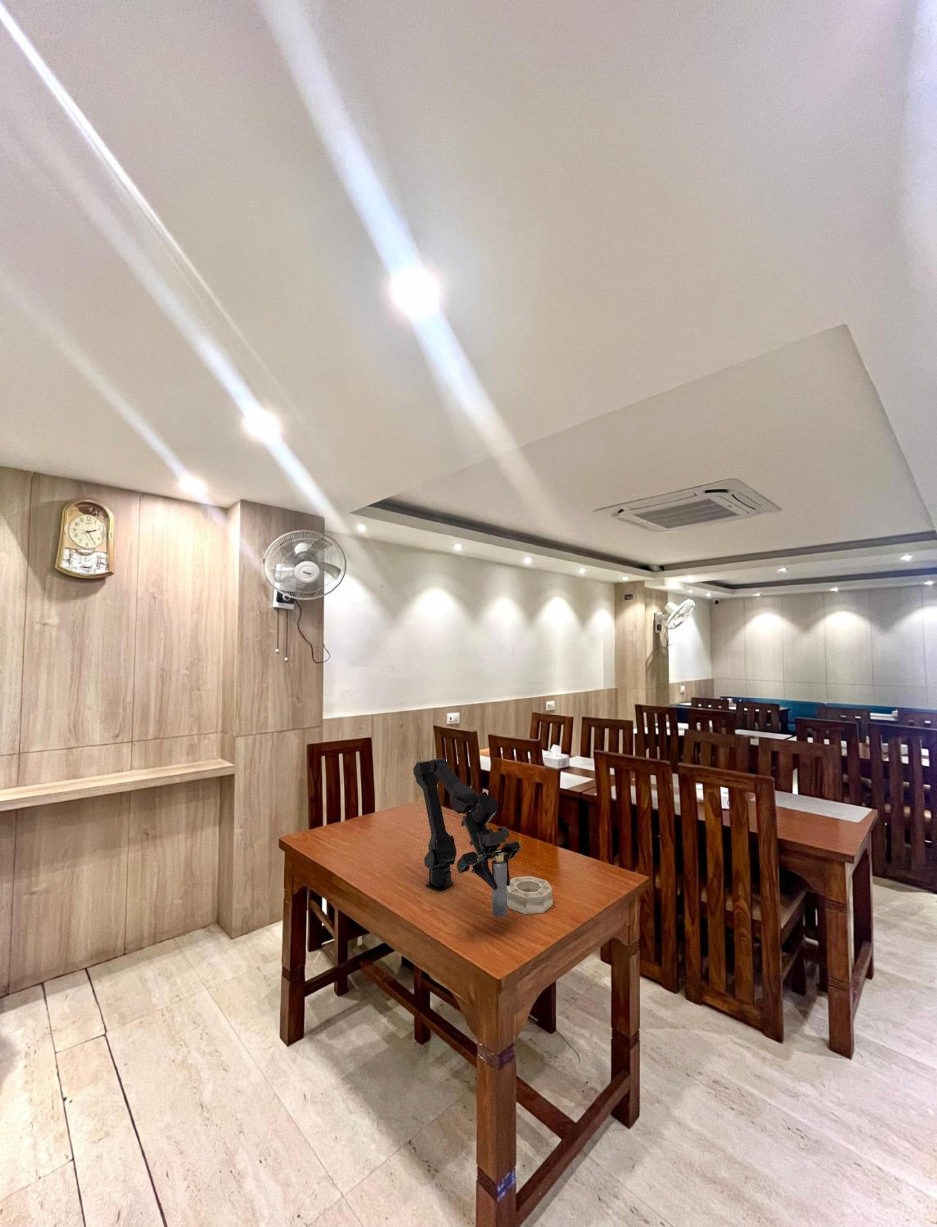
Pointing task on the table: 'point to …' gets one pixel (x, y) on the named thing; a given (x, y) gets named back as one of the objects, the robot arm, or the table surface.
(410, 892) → the table surface
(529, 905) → the cream octagonal ring
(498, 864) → the bottle
